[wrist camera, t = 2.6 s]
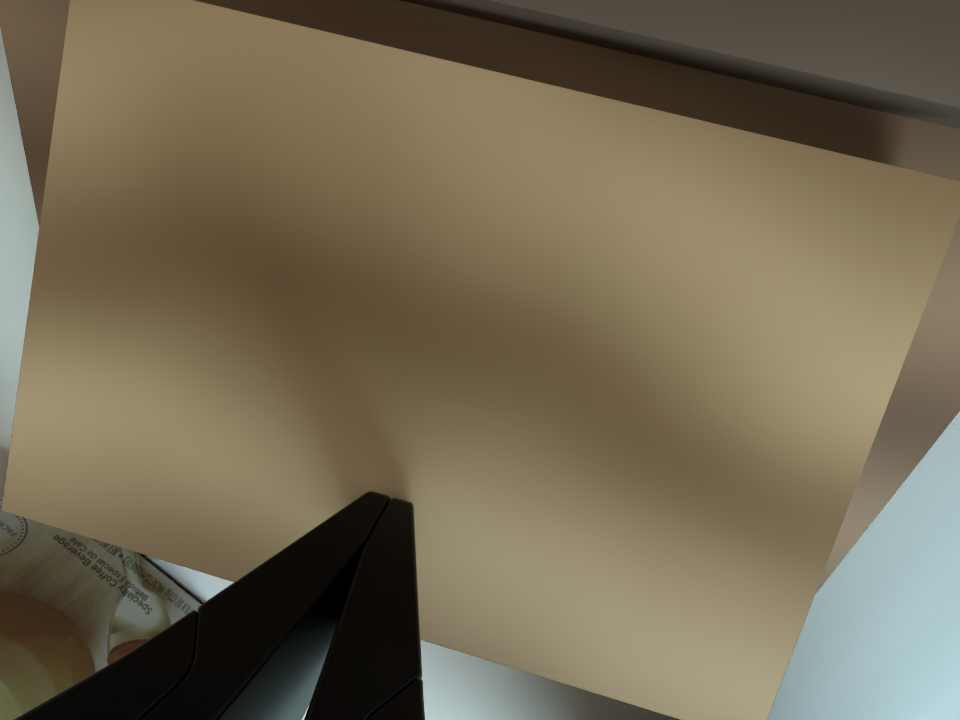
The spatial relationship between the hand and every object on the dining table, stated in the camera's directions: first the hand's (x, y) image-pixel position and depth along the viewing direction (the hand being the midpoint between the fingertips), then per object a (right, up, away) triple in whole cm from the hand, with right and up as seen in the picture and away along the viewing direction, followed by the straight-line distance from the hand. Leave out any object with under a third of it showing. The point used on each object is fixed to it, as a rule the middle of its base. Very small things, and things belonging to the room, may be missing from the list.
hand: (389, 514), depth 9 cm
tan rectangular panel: (+1, +3, +1) cm, 3 cm away
